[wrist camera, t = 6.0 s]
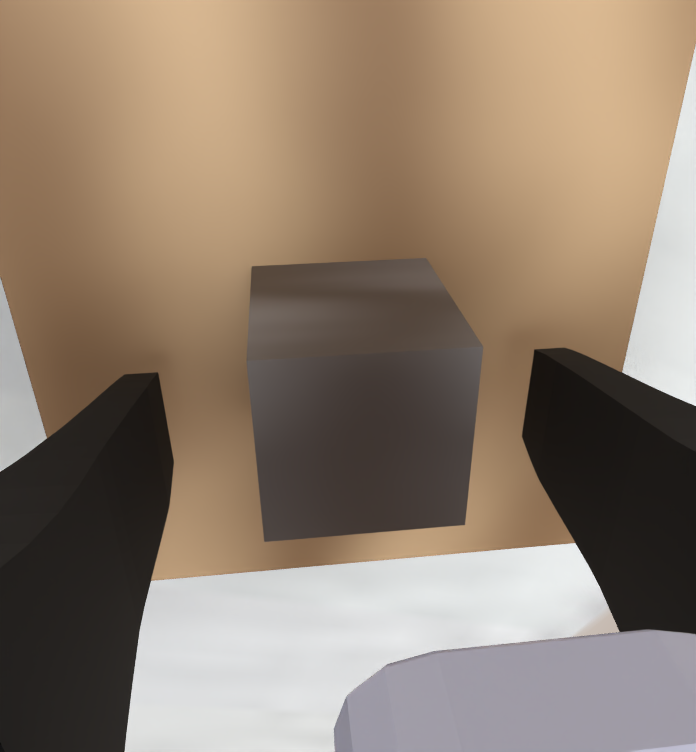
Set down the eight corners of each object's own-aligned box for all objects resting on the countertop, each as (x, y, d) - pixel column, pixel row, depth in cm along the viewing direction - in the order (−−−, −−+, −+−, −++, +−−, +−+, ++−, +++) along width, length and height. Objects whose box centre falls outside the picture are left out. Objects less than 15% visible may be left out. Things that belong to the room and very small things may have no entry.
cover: (98, 557, 17) (42, 739, 13) (-56, -10, 11) (-265, -23, 7) (569, 517, 18) (661, 672, 14) (677, -17, 12) (907, -32, 8)
